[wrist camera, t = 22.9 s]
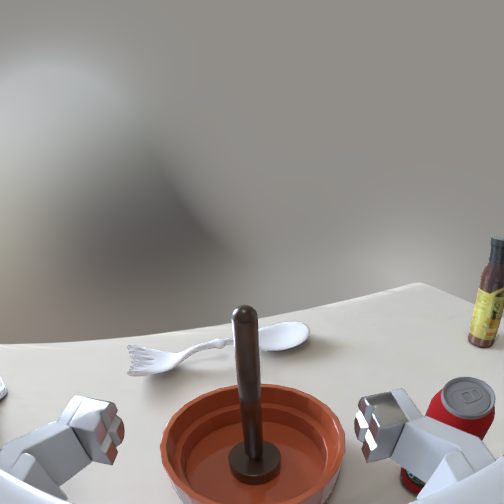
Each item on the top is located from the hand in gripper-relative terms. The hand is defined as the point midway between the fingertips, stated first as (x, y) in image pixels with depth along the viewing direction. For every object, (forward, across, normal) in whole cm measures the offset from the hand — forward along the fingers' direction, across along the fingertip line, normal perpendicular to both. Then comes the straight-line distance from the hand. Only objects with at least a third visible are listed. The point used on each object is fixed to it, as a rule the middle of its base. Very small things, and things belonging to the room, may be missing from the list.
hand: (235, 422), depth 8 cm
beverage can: (+6, -18, +21) cm, 28 cm away
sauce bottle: (+29, -44, +21) cm, 57 cm away
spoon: (+36, +4, +21) cm, 42 cm away
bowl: (+12, 0, +21) cm, 24 cm away
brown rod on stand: (+12, 0, +20) cm, 23 cm away
